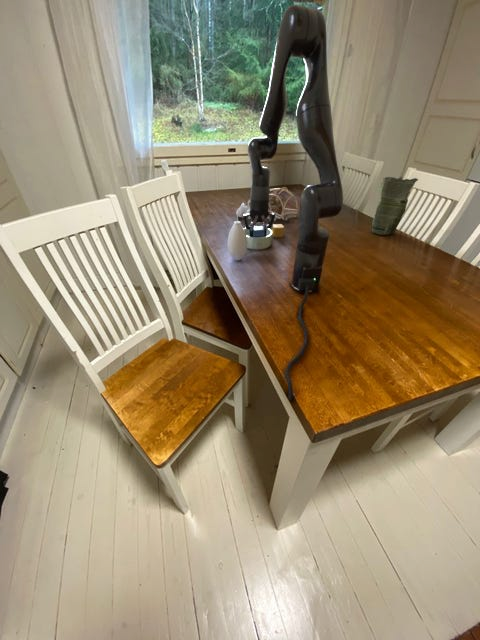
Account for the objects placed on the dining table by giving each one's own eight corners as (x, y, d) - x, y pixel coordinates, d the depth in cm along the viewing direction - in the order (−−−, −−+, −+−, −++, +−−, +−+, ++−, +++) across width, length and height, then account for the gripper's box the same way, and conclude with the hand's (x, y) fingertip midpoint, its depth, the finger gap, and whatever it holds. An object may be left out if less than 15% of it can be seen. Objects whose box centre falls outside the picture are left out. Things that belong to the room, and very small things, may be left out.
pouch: (364, 230, 137) (381, 175, 122) (381, 226, 142) (399, 172, 126) (382, 238, 130) (403, 180, 114) (399, 233, 134) (421, 177, 118)
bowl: (274, 249, 120) (275, 237, 116) (243, 250, 118) (243, 238, 115) (267, 236, 130) (268, 225, 127) (239, 238, 129) (239, 226, 125)
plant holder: (305, 227, 144) (311, 195, 134) (240, 228, 139) (241, 195, 129) (289, 209, 165) (294, 180, 155) (232, 209, 160) (233, 179, 150)
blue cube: (263, 240, 119) (264, 229, 116) (253, 240, 118) (253, 230, 115) (261, 236, 122) (262, 225, 119) (251, 236, 122) (252, 226, 119)
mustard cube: (283, 236, 130) (284, 227, 127) (273, 237, 130) (274, 227, 127) (280, 233, 134) (281, 223, 131) (271, 233, 133) (272, 224, 130)
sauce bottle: (230, 264, 108) (229, 219, 97) (226, 256, 114) (224, 212, 103) (249, 262, 110) (250, 217, 99) (243, 254, 116) (244, 210, 104)
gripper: (243, 200, 105) (243, 242, 116) (279, 198, 107) (275, 240, 118) (240, 194, 111) (240, 235, 122) (274, 193, 113) (271, 233, 124)
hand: (257, 237), depth 120 cm, fingers closed on blue cube, 4 cm apart
